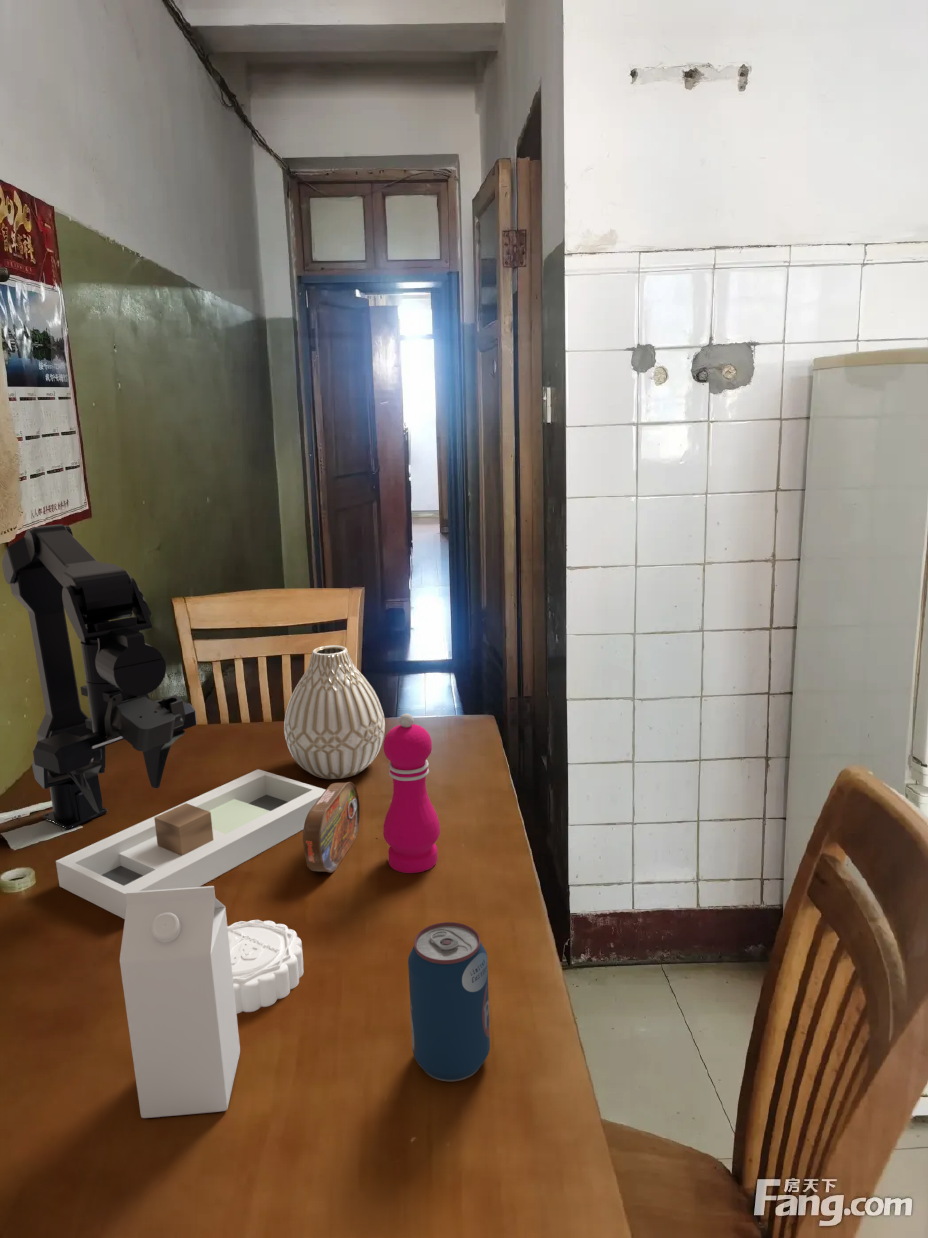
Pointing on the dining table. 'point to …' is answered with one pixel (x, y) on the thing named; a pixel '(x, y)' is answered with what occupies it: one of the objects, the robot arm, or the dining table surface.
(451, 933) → the soda can
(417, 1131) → the dining table surface
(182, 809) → the walnut block
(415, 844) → the pepper mill
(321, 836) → the tin
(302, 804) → the box
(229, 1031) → the milk carton
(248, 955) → the mooncake
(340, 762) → the vase
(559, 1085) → the dining table surface
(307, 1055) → the dining table surface
